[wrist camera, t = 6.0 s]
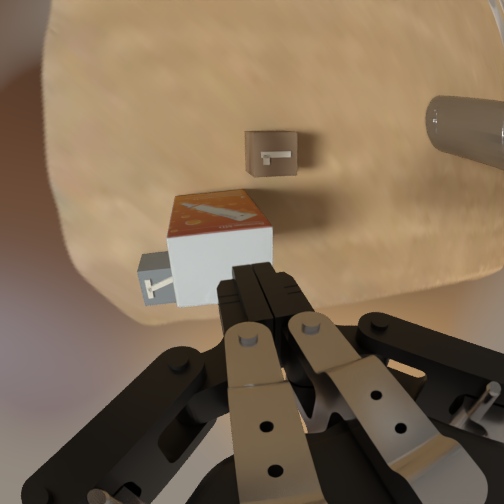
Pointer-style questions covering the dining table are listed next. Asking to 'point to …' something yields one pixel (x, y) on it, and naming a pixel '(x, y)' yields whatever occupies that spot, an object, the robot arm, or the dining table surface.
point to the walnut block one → (271, 153)
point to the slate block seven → (156, 279)
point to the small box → (214, 242)
